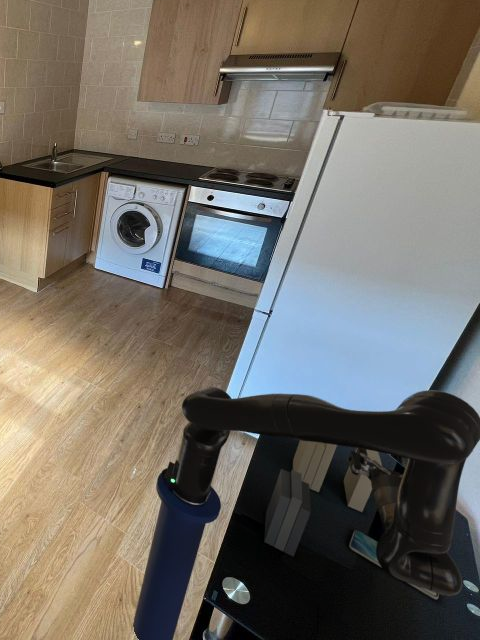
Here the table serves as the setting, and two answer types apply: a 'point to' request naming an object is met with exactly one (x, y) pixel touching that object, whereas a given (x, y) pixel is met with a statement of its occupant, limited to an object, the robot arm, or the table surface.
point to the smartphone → (368, 550)
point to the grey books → (287, 512)
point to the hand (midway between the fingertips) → (385, 457)
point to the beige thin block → (359, 485)
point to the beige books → (313, 462)
